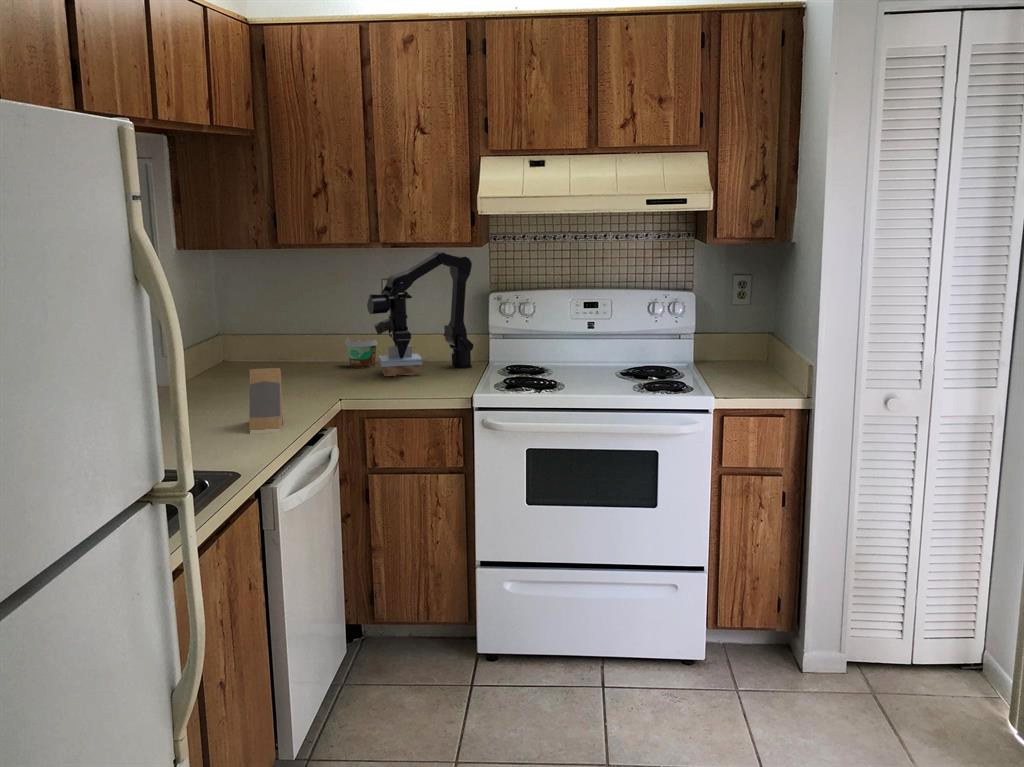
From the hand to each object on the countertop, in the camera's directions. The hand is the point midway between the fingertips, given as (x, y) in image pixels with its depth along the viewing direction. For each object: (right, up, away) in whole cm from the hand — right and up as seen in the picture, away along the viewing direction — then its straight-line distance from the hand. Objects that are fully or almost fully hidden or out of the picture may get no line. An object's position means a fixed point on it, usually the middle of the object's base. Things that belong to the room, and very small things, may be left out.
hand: (400, 356), depth 324 cm
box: (0, -6, +1) cm, 6 cm away
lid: (0, -2, 0) cm, 2 cm away
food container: (-16, -4, +15) cm, 22 cm away
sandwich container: (-28, -22, -69) cm, 78 cm away
